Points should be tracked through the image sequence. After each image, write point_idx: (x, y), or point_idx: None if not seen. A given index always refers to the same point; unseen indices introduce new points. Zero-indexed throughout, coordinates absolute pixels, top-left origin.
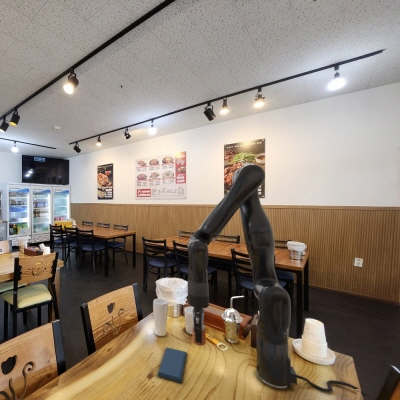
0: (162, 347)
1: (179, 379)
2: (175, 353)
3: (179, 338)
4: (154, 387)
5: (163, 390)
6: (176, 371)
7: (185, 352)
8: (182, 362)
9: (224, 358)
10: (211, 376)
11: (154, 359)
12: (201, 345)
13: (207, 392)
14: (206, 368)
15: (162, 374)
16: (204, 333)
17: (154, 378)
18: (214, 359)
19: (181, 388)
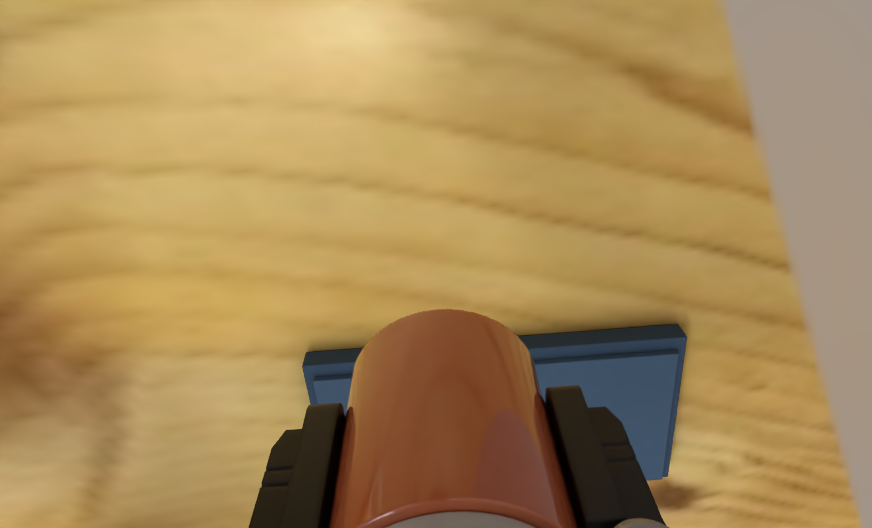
0: None
1: (684, 348)
2: None
3: (98, 441)
4: (769, 451)
5: (781, 403)
6: (613, 386)
7: (312, 371)
8: None
9: (122, 4)
10: (501, 116)
11: None
12: (527, 352)
13: (720, 129)
14: (407, 171)
15: (668, 451)
16: (508, 444)
17: (687, 471)
18: (216, 111)
19: (731, 311)
